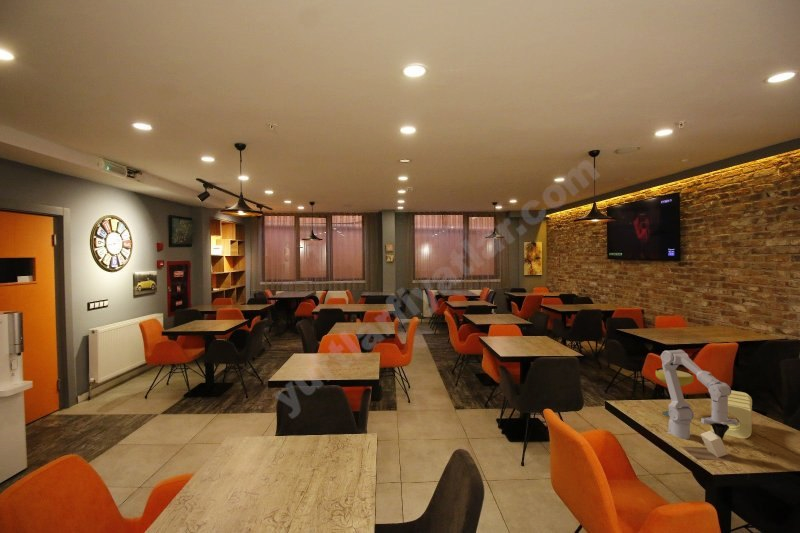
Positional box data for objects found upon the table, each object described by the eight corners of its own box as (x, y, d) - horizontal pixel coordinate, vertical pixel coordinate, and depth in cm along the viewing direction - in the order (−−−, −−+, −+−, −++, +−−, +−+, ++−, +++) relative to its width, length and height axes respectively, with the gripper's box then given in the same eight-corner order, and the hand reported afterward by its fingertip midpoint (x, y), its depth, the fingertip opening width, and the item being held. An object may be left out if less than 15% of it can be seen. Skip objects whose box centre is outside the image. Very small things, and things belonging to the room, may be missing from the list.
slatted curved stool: (751, 446, 189) (751, 410, 188) (709, 436, 199) (709, 402, 199) (751, 426, 211) (752, 393, 211) (713, 418, 222) (714, 387, 221)
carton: (707, 450, 182) (700, 434, 183) (717, 446, 182) (709, 430, 182) (718, 457, 176) (710, 441, 176) (728, 454, 175) (720, 437, 175)
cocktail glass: (695, 424, 214) (696, 378, 214) (656, 417, 223) (656, 374, 223) (690, 412, 230) (691, 370, 230) (654, 407, 239) (654, 366, 239)
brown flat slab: (680, 449, 186) (680, 446, 186) (716, 451, 184) (717, 447, 184) (697, 462, 174) (697, 459, 174) (736, 464, 173) (736, 461, 172)
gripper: (708, 412, 175) (708, 442, 175) (743, 413, 174) (743, 444, 174) (698, 406, 182) (697, 435, 182) (731, 407, 181) (731, 437, 181)
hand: (719, 439), depth 179 cm, fingers closed
